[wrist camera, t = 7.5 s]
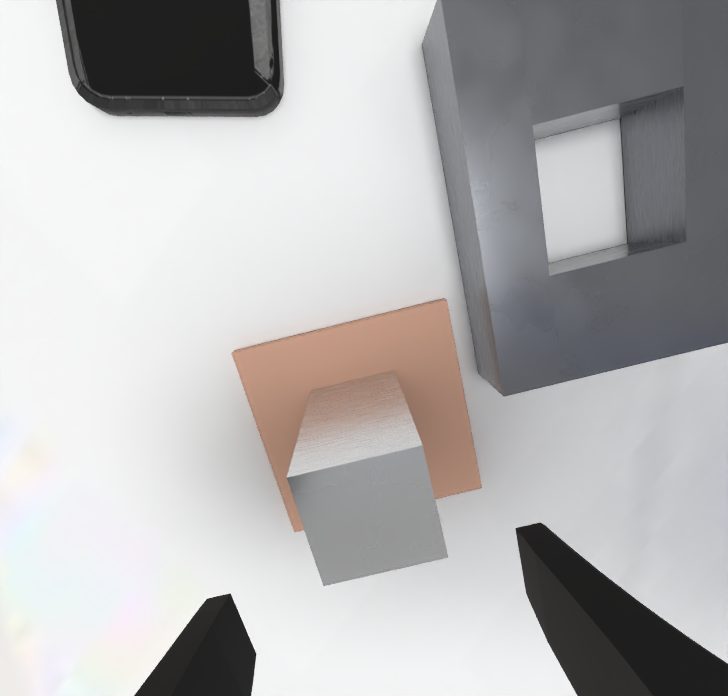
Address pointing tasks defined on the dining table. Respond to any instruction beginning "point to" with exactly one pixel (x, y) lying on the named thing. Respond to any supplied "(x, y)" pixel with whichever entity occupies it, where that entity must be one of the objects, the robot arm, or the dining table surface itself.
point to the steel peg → (364, 481)
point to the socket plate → (641, 178)
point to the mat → (360, 359)
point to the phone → (175, 56)
